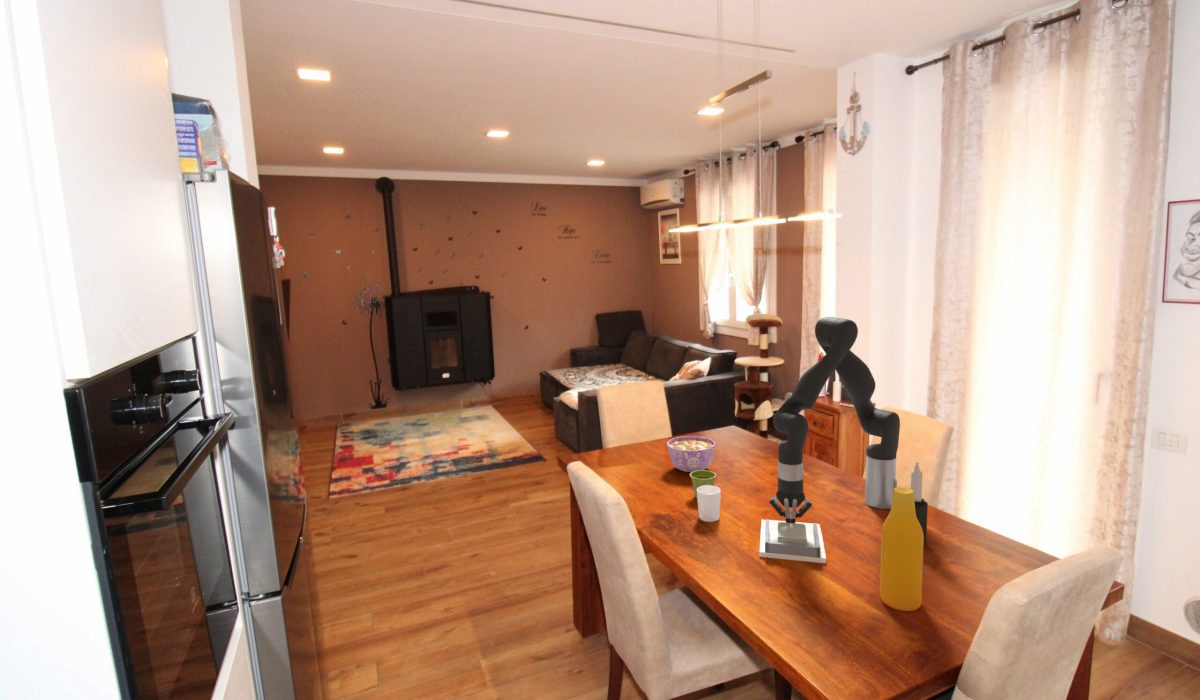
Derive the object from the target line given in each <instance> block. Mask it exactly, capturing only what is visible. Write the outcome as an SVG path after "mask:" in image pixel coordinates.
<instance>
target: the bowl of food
mask: <svg viewBox="0 0 1200 700" xmlns="http://www.w3.org/2000/svg"><path fill="white" fill-rule="evenodd" d="M666 445H667V450H668V453H669V457H670V460H671V462H672V464H673V466H674V467H675V468H676V469H678V470H680V471H682V472H683V471H686V472H693V471H698V470H706V469H707V468H709V466H710V465H711V463H712V460H713V457H714V452H715V448H716V442H715V441H714V440H713V439H712V438H709V437H705V436H700V435H699V436H698V435H697V436H696V435H683V436H677V437H673V438H672V439H669V440H668V441H667V442H666ZM686 472H685V473H686Z"/></svg>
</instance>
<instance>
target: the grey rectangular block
mask: <svg viewBox="0 0 1200 700" xmlns="http://www.w3.org/2000/svg"><path fill="white" fill-rule="evenodd" d="M778 542H780V543H791V544H801V545H807V536H806V526H805V524H798V523H787V522H778Z"/></svg>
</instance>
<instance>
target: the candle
mask: <svg viewBox="0 0 1200 700" xmlns="http://www.w3.org/2000/svg"><path fill="white" fill-rule="evenodd" d="M909 488H910V489H912V490H913V491H914V501H915V512H916V517H917V519H918V521H919V523H920V525H921V528H922V530H923V535H924V544H923V546H924V545H926V544H927V534H928V533H927V531H928V529H927V528H928V508H929V507H928V505H929V503H928V502H927V501H925V499H924V498H922V497H923V496H922V495H923V494H922V493H923V492H922V491H923V472H922V471H921V469H920V466H919V462H918V461H916V462H915V465H914V468H913V469H912V471H910V487H909Z"/></svg>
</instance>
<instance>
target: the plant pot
mask: <svg viewBox="0 0 1200 700" xmlns="http://www.w3.org/2000/svg"><path fill="white" fill-rule="evenodd" d="M689 476H690V479H691V480H692V481H691V483H692V486H693V493H694V498H696V499H697V488H698V487H700V486H704V485H712V486H714V481H715V479H716V476H717V474H716V473H715V472H713V471H711V470H706V469H704V470H698V471H693V472H691V473H689Z"/></svg>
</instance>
